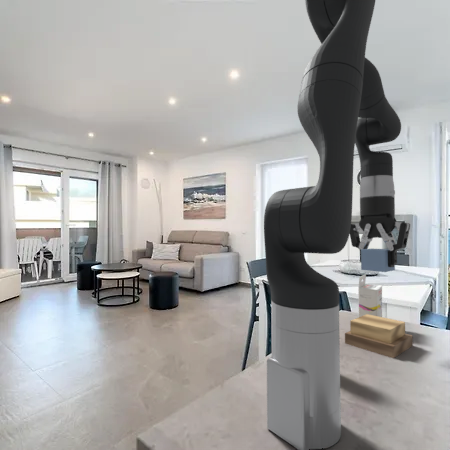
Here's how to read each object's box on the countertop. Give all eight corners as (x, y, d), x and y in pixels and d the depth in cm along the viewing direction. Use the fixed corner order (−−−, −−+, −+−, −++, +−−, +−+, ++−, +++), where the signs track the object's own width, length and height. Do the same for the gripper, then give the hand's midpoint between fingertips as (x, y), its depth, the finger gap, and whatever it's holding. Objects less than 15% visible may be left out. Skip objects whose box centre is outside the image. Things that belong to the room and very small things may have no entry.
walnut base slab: (393, 360, 63) (393, 346, 63) (345, 345, 72) (344, 333, 72) (412, 348, 70) (412, 335, 70) (366, 335, 79) (366, 324, 79)
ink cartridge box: (378, 334, 78) (377, 278, 79) (358, 330, 81) (357, 276, 82) (383, 325, 85) (382, 274, 86) (364, 322, 88) (363, 273, 88)
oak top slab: (390, 343, 65) (389, 329, 65) (350, 333, 72) (350, 320, 72) (405, 334, 71) (405, 321, 71) (367, 325, 77) (367, 314, 78)
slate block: (385, 272, 67) (384, 250, 68) (361, 269, 72) (360, 249, 72) (394, 270, 71) (394, 249, 71) (371, 268, 75) (371, 248, 75)
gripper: (341, 198, 75) (342, 264, 75) (402, 191, 64) (404, 269, 63) (355, 200, 80) (356, 262, 79) (415, 194, 69) (417, 267, 68)
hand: (377, 265), depth 71 cm, fingers closed on slate block, 5 cm apart
